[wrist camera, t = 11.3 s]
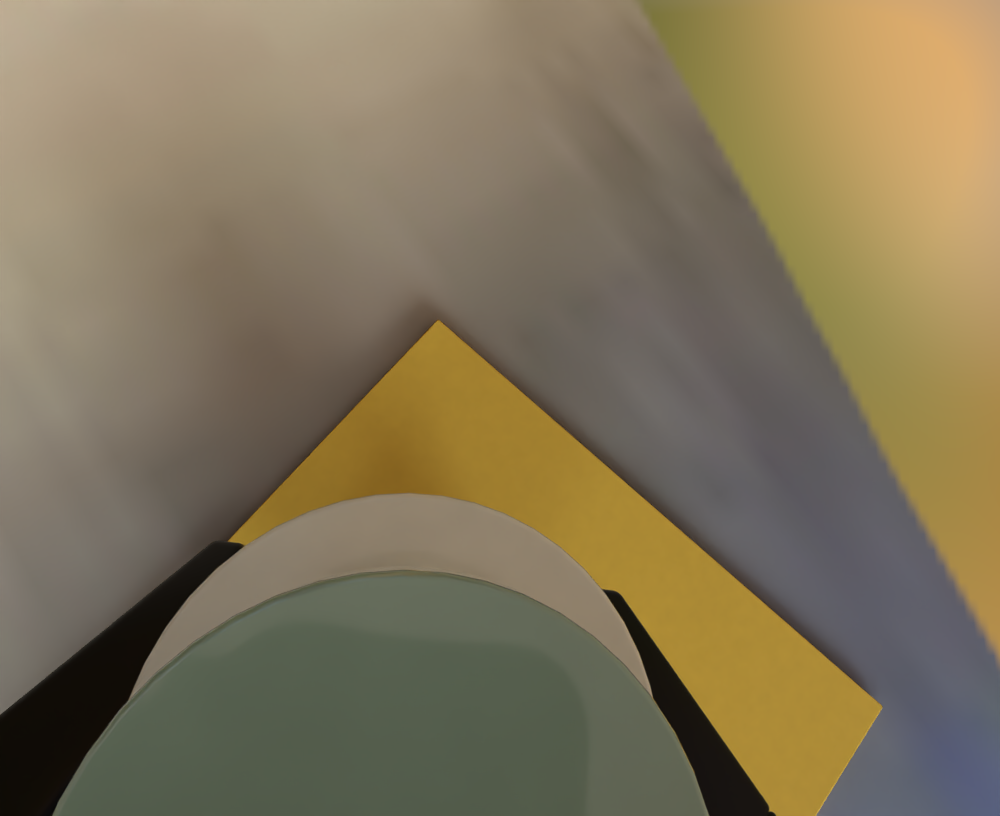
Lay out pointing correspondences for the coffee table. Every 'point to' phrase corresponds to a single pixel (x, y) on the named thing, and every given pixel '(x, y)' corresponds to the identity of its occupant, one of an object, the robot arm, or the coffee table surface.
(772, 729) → the cloth
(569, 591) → the bottle
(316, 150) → the coffee table surface
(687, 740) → the robot arm
